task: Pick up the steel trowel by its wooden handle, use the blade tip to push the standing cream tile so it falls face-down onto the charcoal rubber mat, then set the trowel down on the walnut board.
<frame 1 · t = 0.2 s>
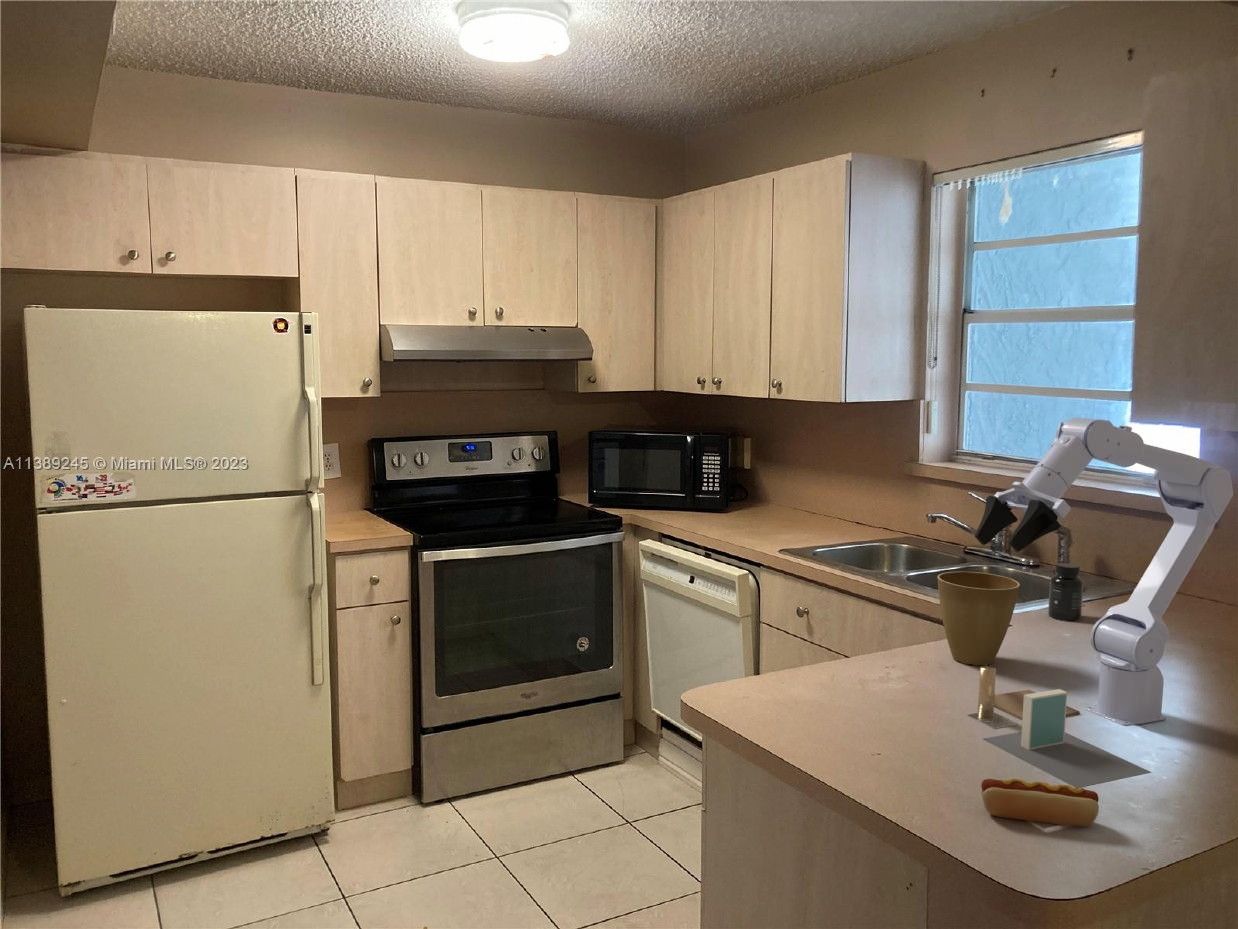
hand: (995, 543, 146), 31 cm above the counter, tool tilted 45°, fingers open, 7 cm apart
plant pot: (973, 661, 189), on the counter
tile: (1042, 744, 147), resting on mat
board: (1028, 709, 163), on the counter
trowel: (985, 719, 158), on the counter
mat: (1063, 757, 143), on the counter
food: (1037, 821, 125), on the counter
supplement bottle: (1064, 618, 219), on the counter
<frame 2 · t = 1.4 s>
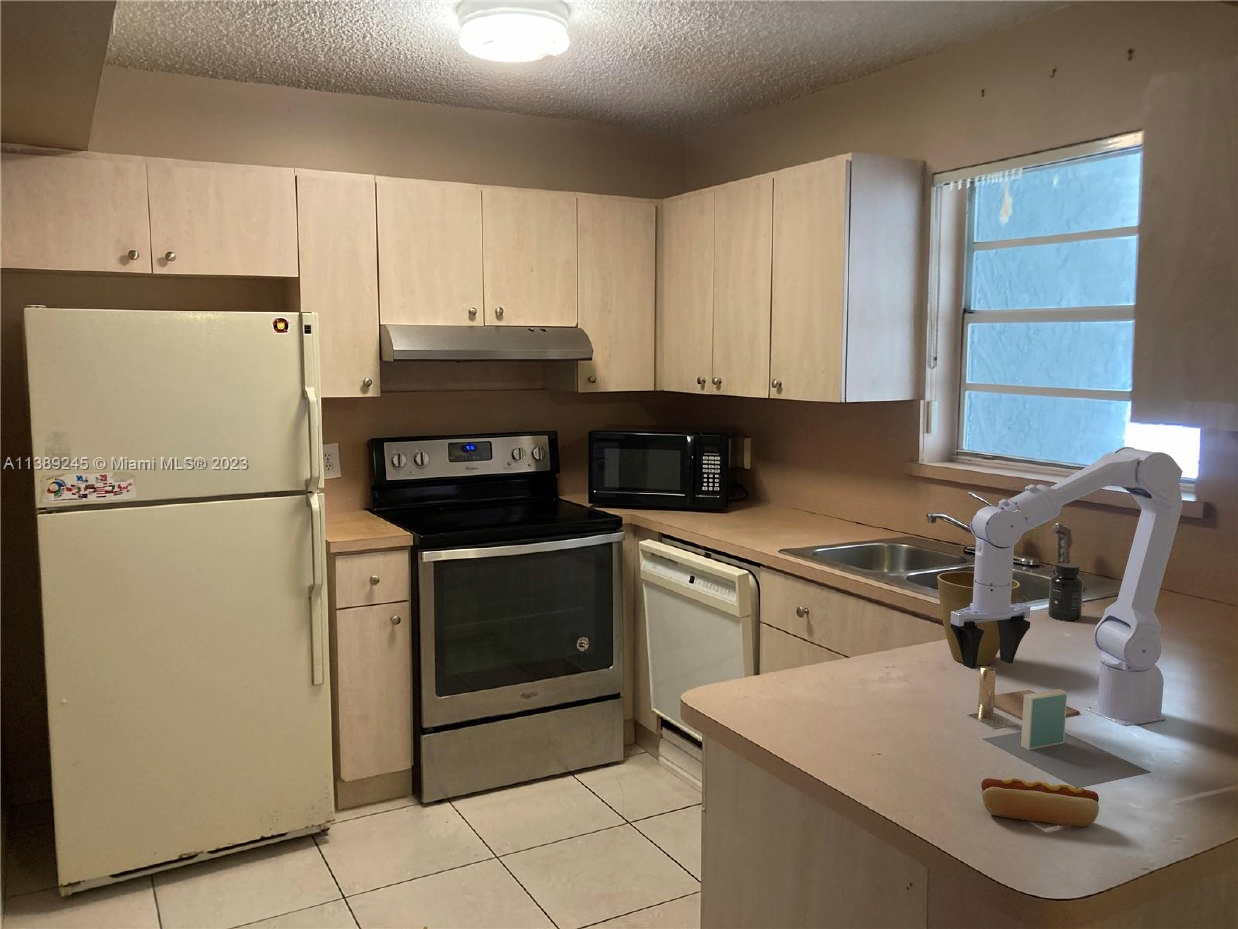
hand: (988, 664, 157), 9 cm above the counter, tool pointing down, fingers open, 7 cm apart
nothing on the counter moved.
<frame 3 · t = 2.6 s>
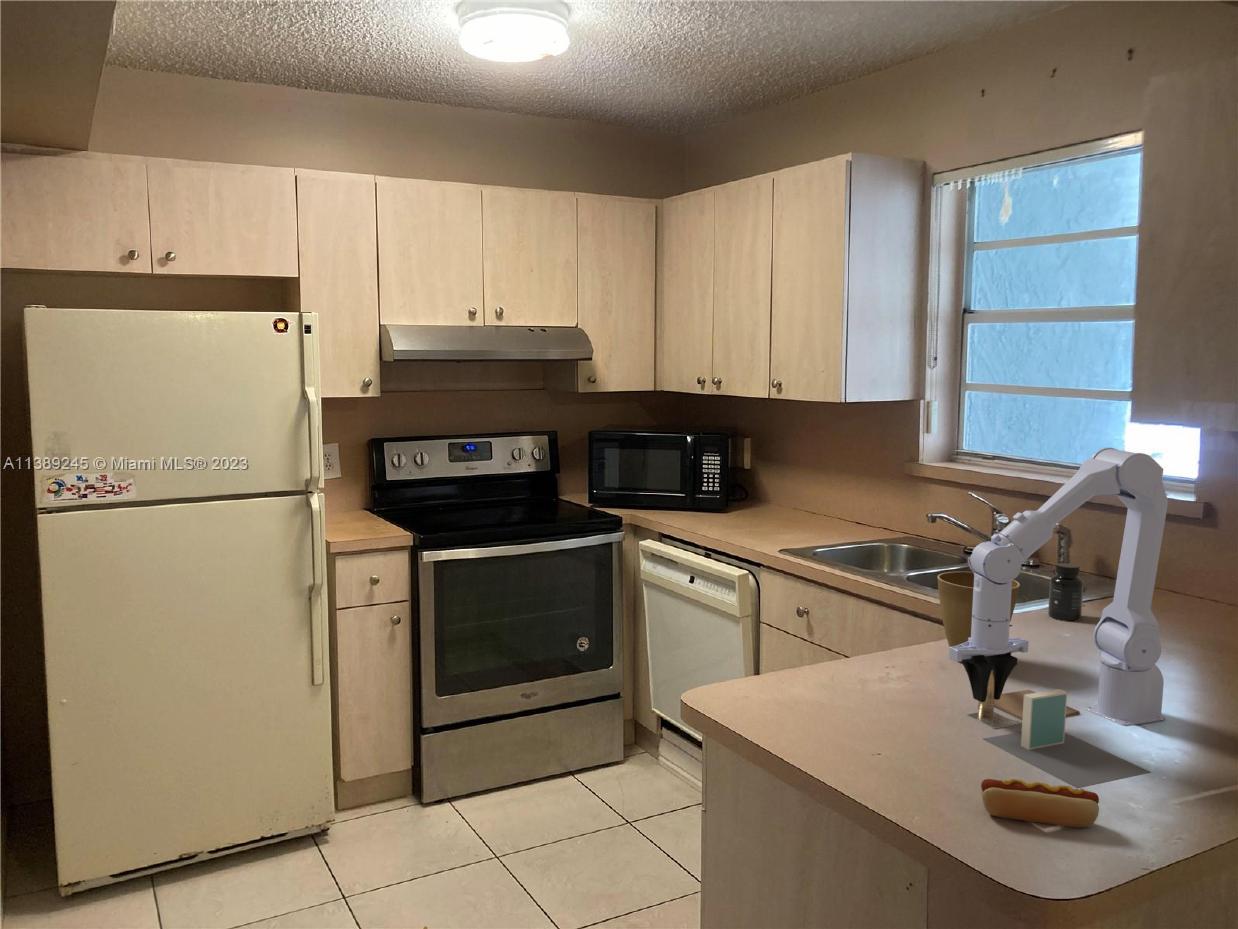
hand: (986, 698, 158), 3 cm above the counter, tool pointing down, fingers closed on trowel, 2 cm apart
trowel: (985, 719, 158), on the counter, touching gripper
everything else where it was.
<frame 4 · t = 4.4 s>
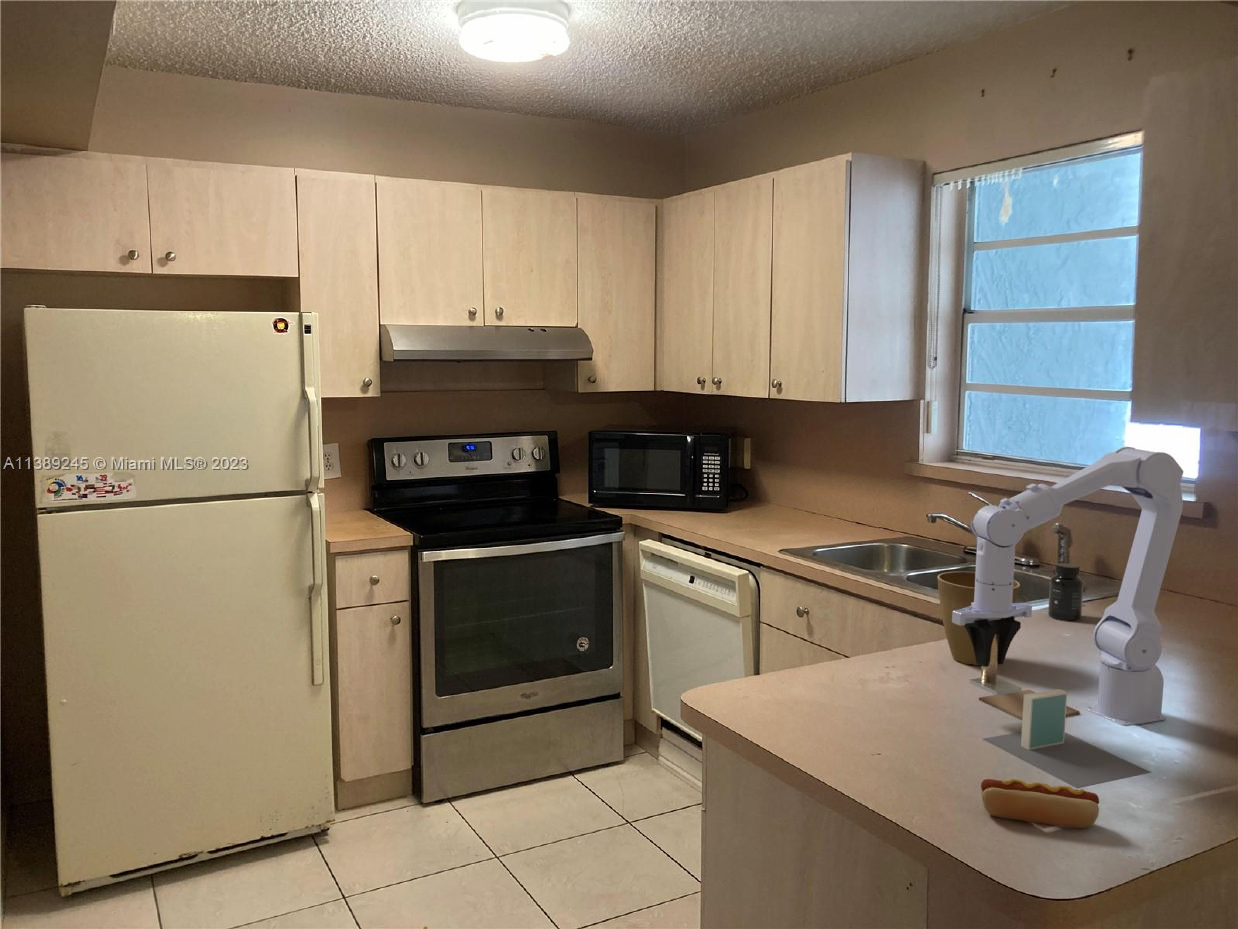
hand: (989, 663, 157), 9 cm above the counter, tool pointing down, fingers closed on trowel, 2 cm apart
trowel: (988, 684, 157), point 6 cm above the counter, touching gripper
everything else where it was.
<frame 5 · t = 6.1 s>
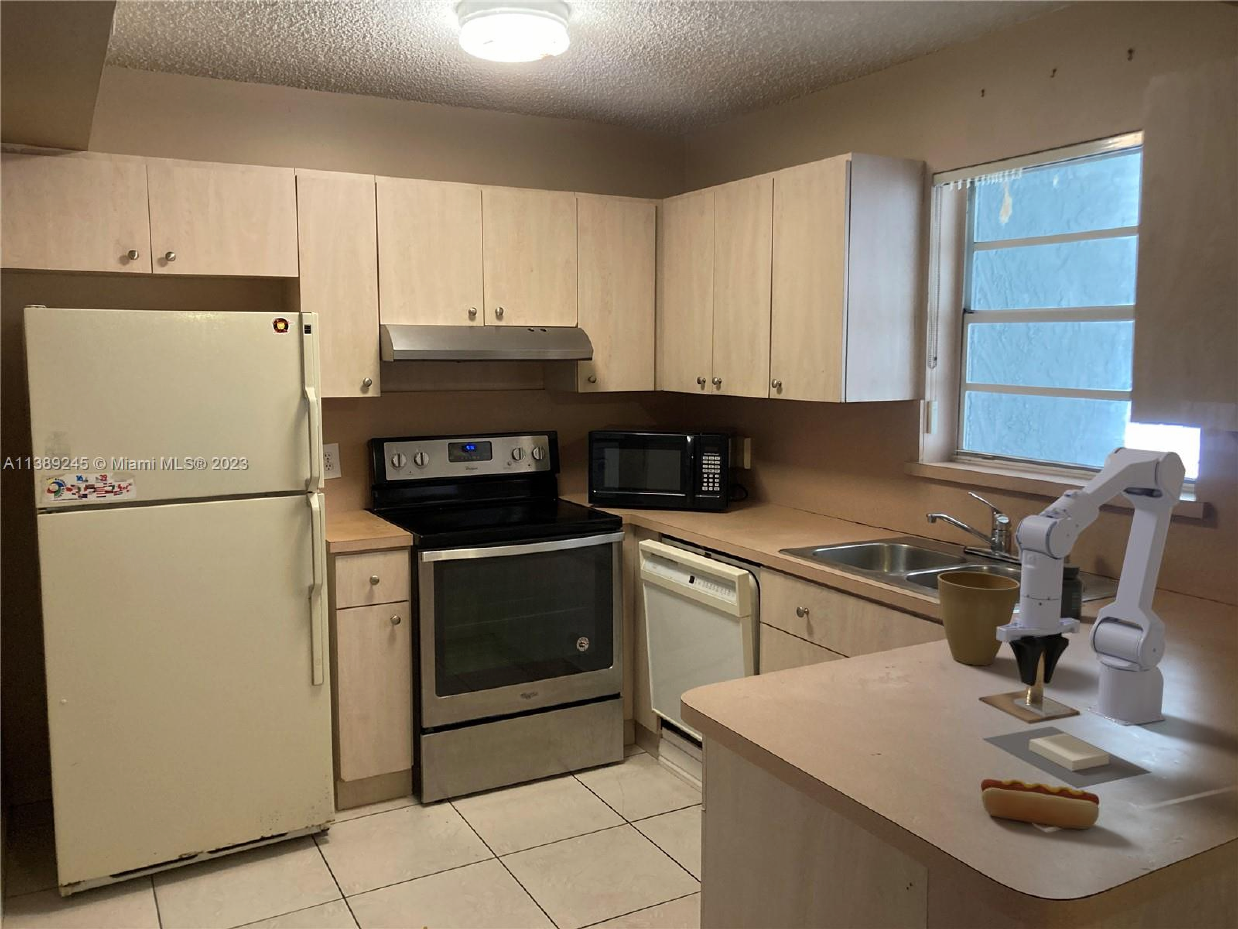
hand: (1035, 682, 148), 9 cm above the counter, tool pointing down, fingers closed on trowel, 2 cm apart
tile: (1047, 741, 146), point 1 cm above the counter, tilted 90°, touching mat
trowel: (1034, 704, 148), point 6 cm above the counter, touching gripper
everything else where it was.
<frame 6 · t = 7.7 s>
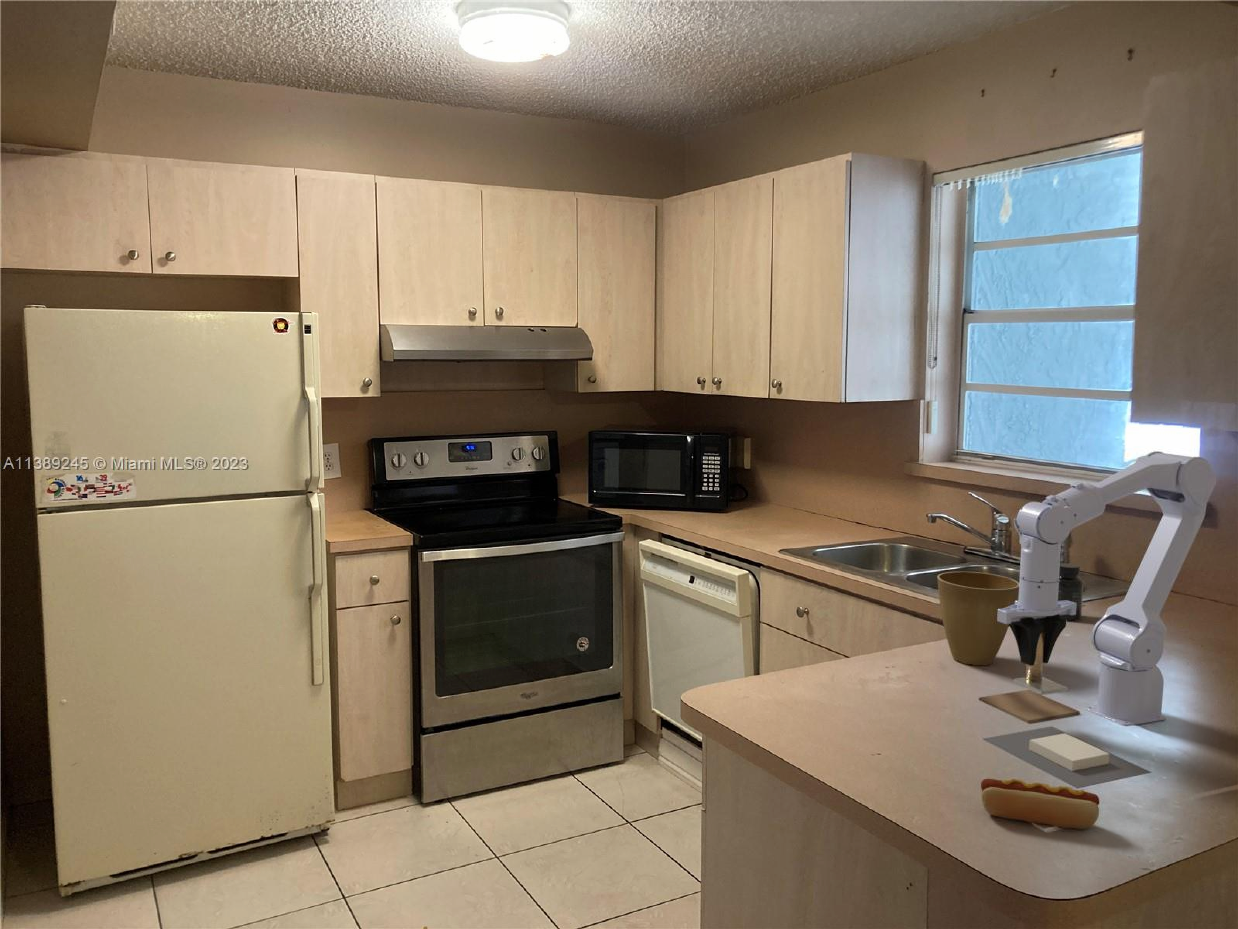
hand: (1034, 662, 155), 10 cm above the counter, tool pointing down, fingers closed on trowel, 2 cm apart
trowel: (1033, 683, 155), point 7 cm above the counter, touching gripper
everything else where it was.
when the fingers open (6 cm above the counter, at t = 9.3 s): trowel drops 1 cm, resting on board.
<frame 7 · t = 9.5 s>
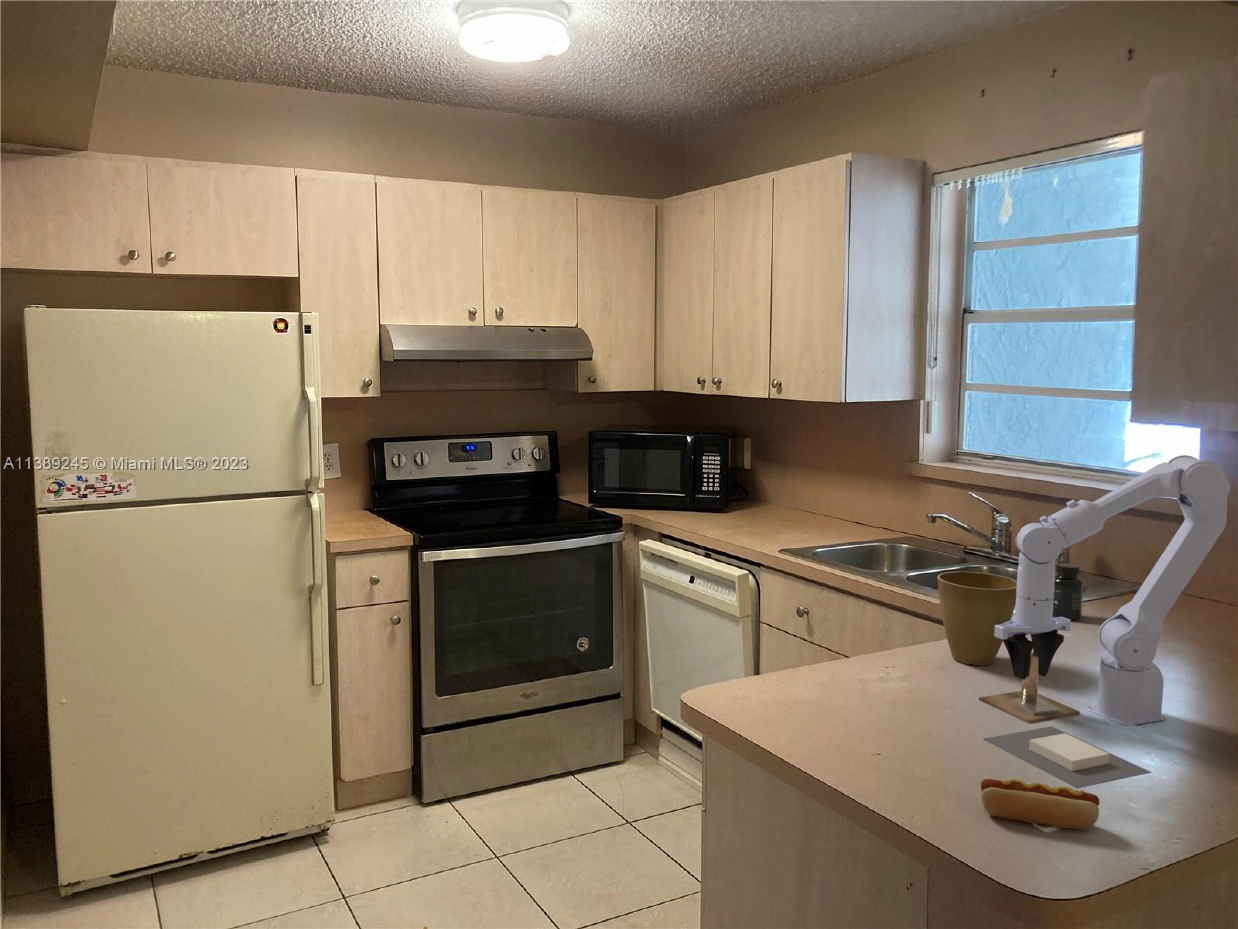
hand: (1030, 676, 162), 6 cm above the counter, tool pointing down, fingers open, 4 cm apart
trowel: (1028, 704, 163), point 1 cm above the counter, touching board
everything else where it was.
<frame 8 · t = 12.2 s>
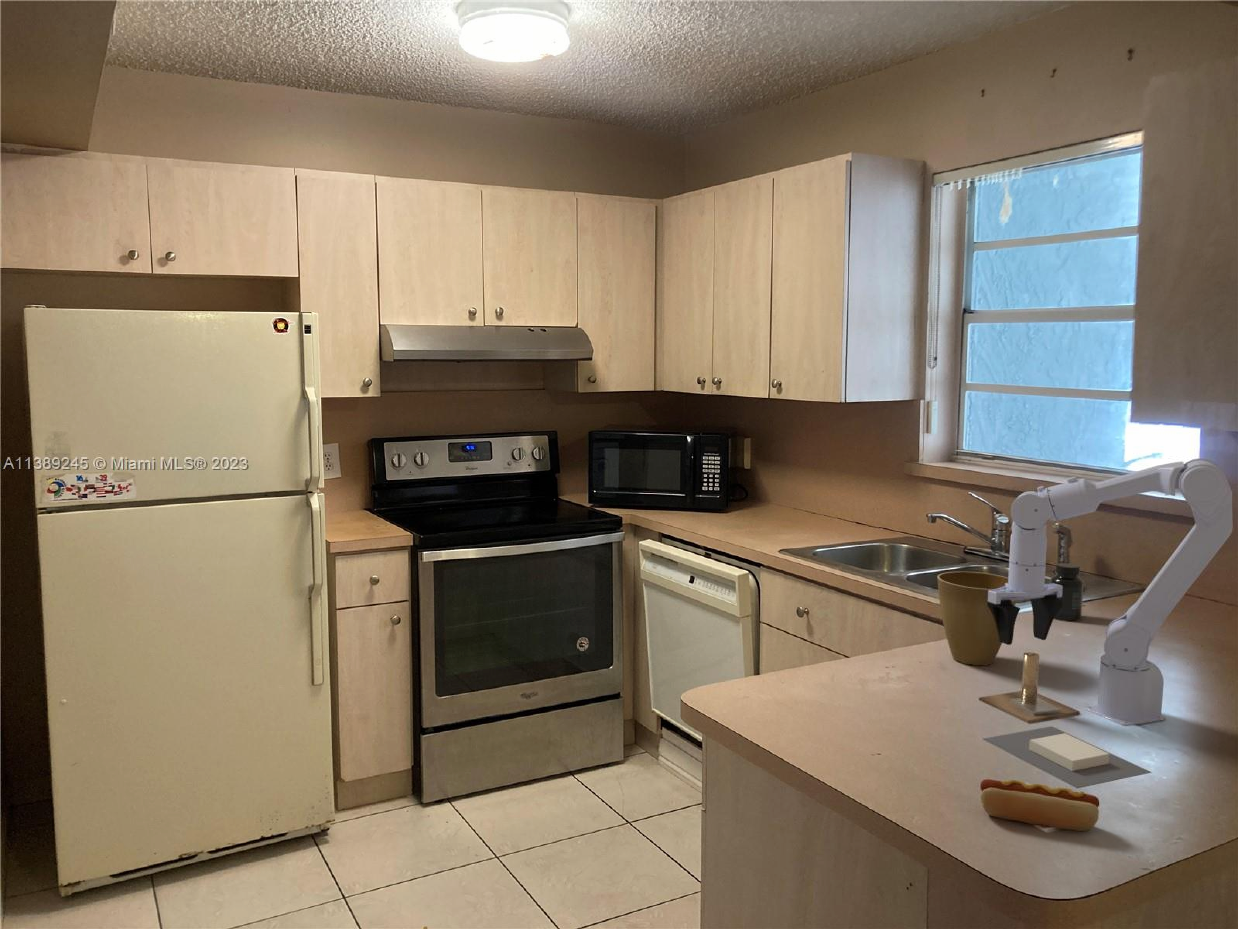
hand: (1022, 640, 166), 10 cm above the counter, tool pointing down, fingers open, 7 cm apart
nothing on the counter moved.
at the end: tile tilted 90°; tile inside the target area (2.6 cm from its centre), point 1.2 cm above the counter; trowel inside the target area on the board (0.1 cm from its centre), point 0.8 cm above the board's base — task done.
